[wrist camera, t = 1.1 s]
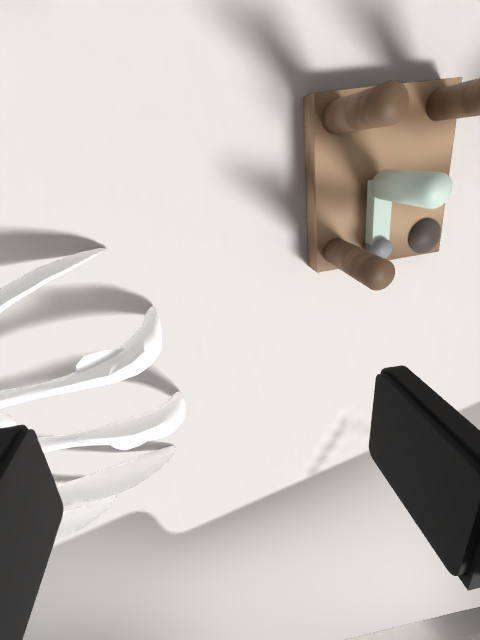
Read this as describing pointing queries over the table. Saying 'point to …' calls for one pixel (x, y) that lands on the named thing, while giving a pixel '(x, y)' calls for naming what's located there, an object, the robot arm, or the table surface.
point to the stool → (377, 167)
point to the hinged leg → (399, 201)
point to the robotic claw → (93, 374)
